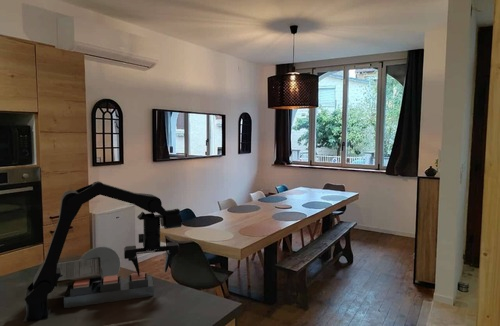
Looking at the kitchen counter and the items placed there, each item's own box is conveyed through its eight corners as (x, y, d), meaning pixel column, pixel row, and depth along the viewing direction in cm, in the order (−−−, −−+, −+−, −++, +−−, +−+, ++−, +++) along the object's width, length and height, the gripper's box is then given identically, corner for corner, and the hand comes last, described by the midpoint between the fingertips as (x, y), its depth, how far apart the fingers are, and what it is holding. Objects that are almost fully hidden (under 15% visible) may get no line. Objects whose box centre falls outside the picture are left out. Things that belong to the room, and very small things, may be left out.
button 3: (88, 292, 117) (88, 283, 117) (73, 294, 115) (73, 285, 115) (89, 287, 121) (89, 278, 121) (75, 288, 119) (75, 280, 119)
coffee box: (52, 271, 125) (102, 263, 131) (52, 289, 122) (102, 281, 128) (48, 263, 118) (100, 256, 123) (47, 283, 115) (101, 274, 120)
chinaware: (131, 267, 139) (129, 260, 133) (102, 300, 131) (99, 294, 125) (102, 246, 142) (98, 239, 136) (72, 277, 134) (67, 271, 127)
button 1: (145, 285, 123) (145, 276, 123) (131, 286, 121) (131, 278, 121) (144, 280, 127) (144, 272, 127) (131, 281, 126) (131, 273, 125)
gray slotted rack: (153, 295, 123) (153, 279, 123) (64, 308, 113) (63, 290, 113) (151, 284, 132) (151, 269, 132) (68, 295, 123) (67, 278, 122)
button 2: (117, 288, 120) (117, 279, 120) (103, 290, 118) (103, 281, 118) (117, 283, 124) (117, 275, 124) (104, 285, 122) (103, 276, 122)
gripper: (175, 223, 135) (175, 263, 137) (123, 227, 129) (124, 268, 130) (179, 230, 125) (180, 273, 126) (124, 235, 119) (124, 280, 120)
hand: (152, 273), depth 126 cm, fingers open, 9 cm apart
